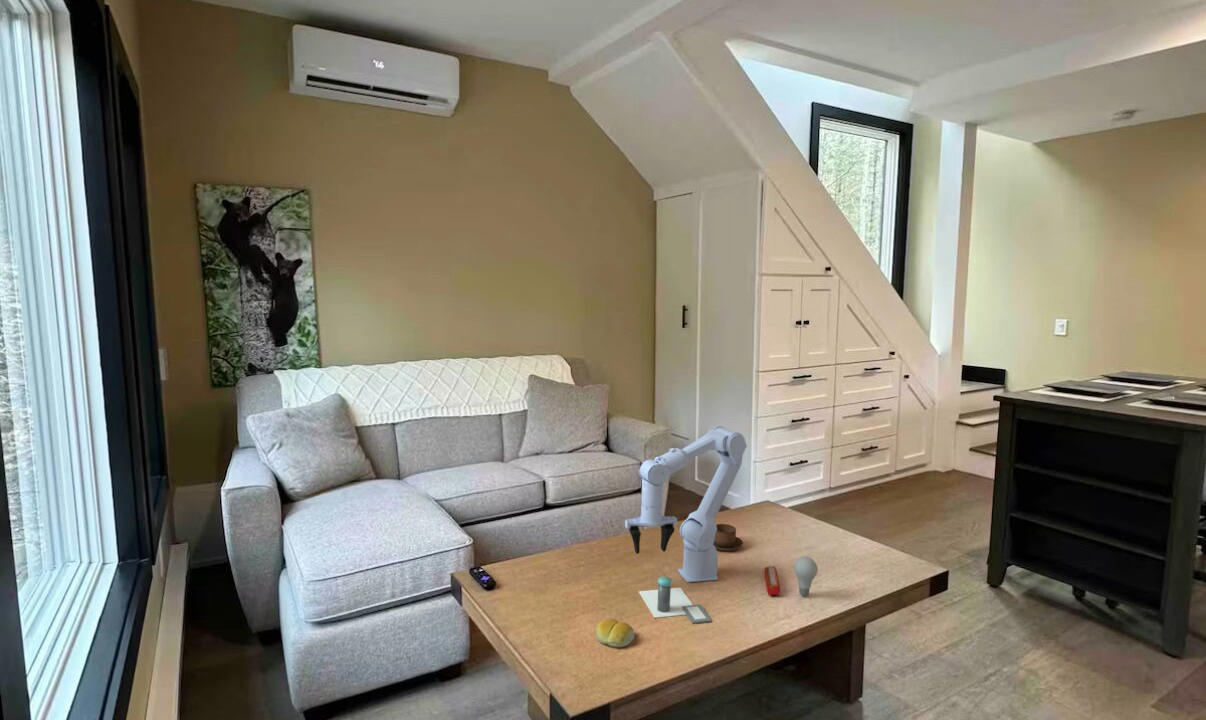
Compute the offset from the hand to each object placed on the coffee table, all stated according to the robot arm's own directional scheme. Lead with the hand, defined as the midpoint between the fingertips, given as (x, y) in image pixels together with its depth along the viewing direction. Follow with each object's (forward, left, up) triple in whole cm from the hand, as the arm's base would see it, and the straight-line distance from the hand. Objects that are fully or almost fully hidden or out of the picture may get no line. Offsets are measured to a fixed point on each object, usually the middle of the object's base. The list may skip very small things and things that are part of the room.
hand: (650, 551), depth 177 cm
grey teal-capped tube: (0, +14, -10) cm, 17 cm away
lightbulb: (-40, +14, -10) cm, 44 cm away
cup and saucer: (-32, -22, -10) cm, 40 cm away
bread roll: (+16, +24, -10) cm, 31 cm away
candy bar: (-35, +6, -10) cm, 37 cm away
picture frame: (-7, +18, -10) cm, 22 cm away
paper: (-2, +11, -10) cm, 15 cm away
